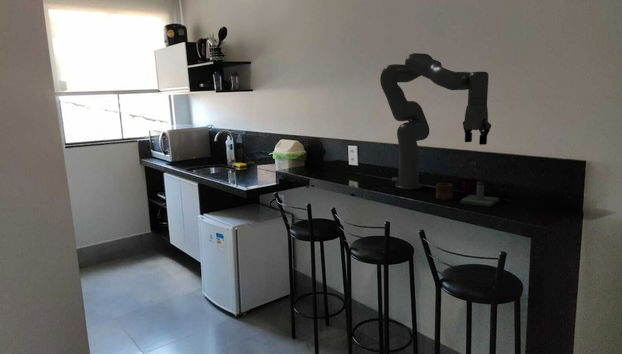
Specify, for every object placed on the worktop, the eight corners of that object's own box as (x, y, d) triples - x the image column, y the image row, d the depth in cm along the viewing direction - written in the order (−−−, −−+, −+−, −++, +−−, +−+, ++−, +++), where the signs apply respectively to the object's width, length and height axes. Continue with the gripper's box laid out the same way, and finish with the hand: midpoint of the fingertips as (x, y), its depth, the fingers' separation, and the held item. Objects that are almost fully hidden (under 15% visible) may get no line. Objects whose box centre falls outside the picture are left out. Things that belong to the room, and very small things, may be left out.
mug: (472, 197, 192) (473, 182, 190) (454, 193, 200) (455, 178, 199) (482, 195, 195) (483, 180, 194) (464, 191, 203) (465, 176, 202)
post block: (460, 202, 183) (461, 183, 181) (470, 197, 192) (471, 178, 191) (490, 206, 176) (491, 186, 174) (499, 200, 185) (500, 181, 183)
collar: (433, 198, 192) (434, 184, 191) (439, 195, 197) (440, 182, 196) (448, 200, 188) (449, 186, 187) (454, 197, 193) (454, 183, 192)
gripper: (457, 102, 189) (455, 141, 193) (483, 102, 173) (481, 146, 177) (472, 101, 191) (470, 140, 195) (499, 102, 175) (496, 145, 179)
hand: (475, 143), depth 186 cm, fingers open, 9 cm apart
